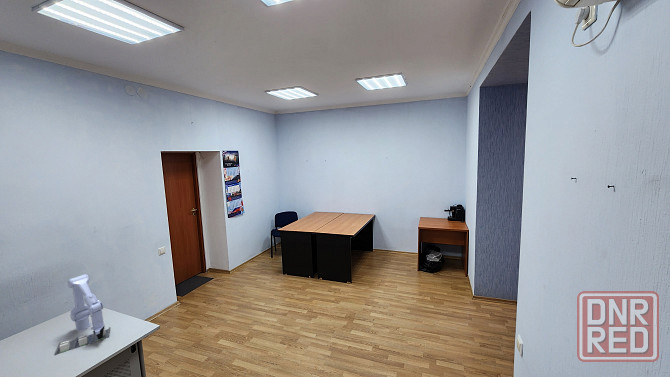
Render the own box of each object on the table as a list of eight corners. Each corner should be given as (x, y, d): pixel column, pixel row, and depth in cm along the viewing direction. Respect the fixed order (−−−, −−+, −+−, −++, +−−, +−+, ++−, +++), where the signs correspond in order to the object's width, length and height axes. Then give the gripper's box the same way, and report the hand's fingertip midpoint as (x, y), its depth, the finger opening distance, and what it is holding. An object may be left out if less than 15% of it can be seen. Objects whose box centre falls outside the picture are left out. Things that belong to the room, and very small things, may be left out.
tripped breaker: (98, 334, 191) (97, 329, 190) (105, 332, 193) (104, 326, 193) (97, 337, 188) (96, 332, 187) (105, 335, 190) (104, 329, 189)
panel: (59, 346, 182) (58, 343, 182) (110, 329, 198) (110, 326, 198) (55, 356, 173) (54, 353, 172) (109, 338, 188) (109, 335, 188)
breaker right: (61, 348, 178) (60, 342, 177) (70, 345, 180) (69, 340, 180) (60, 352, 175) (59, 346, 174) (68, 349, 177) (67, 343, 176)
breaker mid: (80, 342, 183) (79, 336, 183) (88, 339, 186) (87, 334, 185) (79, 345, 180) (78, 340, 179) (87, 343, 182) (86, 337, 182)
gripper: (91, 317, 187) (94, 334, 189) (88, 328, 176) (91, 346, 178) (104, 313, 191) (107, 330, 193) (102, 323, 180) (105, 342, 182)
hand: (100, 338), depth 186 cm, fingers closed
